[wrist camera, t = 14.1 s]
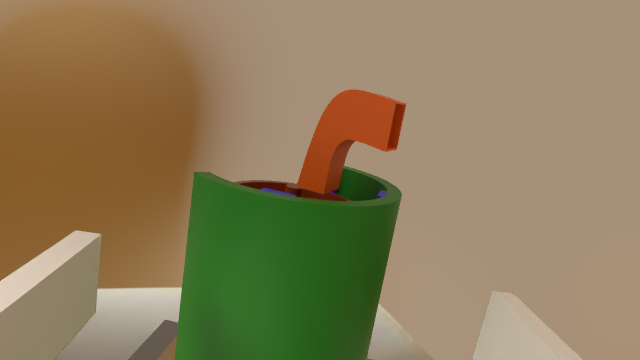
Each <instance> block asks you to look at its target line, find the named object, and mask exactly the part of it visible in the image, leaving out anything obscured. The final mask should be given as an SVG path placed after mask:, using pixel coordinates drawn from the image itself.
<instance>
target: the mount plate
mask: <svg viewBox="0 0 640 360" xmlns="http://www.w3.org/2000/svg"><path fill="white" fill-rule="evenodd" d="M177 331H178V323H176V322H172V321H168V320H165V321H164V322H163V323H162V324H161V325H160V326H159V327H158V328H157V329H156V330H155V331H154V333H153V334H152V335H151V336H150V337H149V338H148V339H147V340H146V341H145V342H144V343H143V344H142V345H141V347H140V348H139V349H138V350H137V351H136V352H135V353H134V354H133V355H132V356H131V357H130V358H129V359H128V360H175V350H176V341H177ZM366 360H372V359H368V358H366Z"/></svg>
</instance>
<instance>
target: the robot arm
mask: <svg viewBox="0 0 640 360" xmlns="http://www.w3.org/2000/svg"><path fill="white" fill-rule="evenodd" d="M100 246H101V234H97V233H90V232H83V231H75V232H73V233H72V234H70V235H69V236H67V237H66V238H64V239H63V240H61V241H60V242H58V243H57V244H55V245H54V246H52V247H51V248H49V249H48V250H46V251H45V252H43V253H42V254H40V255H39V256H37V257H36V258H34V259H33V260H31V261H30V262H28V263H27V264H25V265H24V266H22V267H21V268H19V269H18V270H16V271H15V272H13V273H12V274H10V275H9V276H7V277H6V278H4V279H3V280H2V281H0V360H55V358H56V357H57V356H58V355H59V354H60V353H61V351H62V350H63V349H64V348H65V347H66V346H67V345H68V343H69V342H70V341H71V340H72V339H73V338H74V336H75V335H76V334H77V333H78V332H79V331H80V330H81V328H82V327H83V326H84V325H85V324H86V323H87V322H88V320H89V319H90V318H91V317H92V316H93V315H94V313H95V312H96V299H97V286H98V272H99V259H100V258H99V257H100ZM472 360H583V359H582V358H581V357H580V356H578V355H577V354H576V353H575V352H574V351H573V350H572V349H571V348H570V347H569V346H568V345H567V344H566V343H565V342H564V341H563V340H562V339H561V338H560V337H558V336H557V335H556V334H555V333H554V332H553V331H552V330H551V329H550V328H549V327H548V326H546V324H545V323H544V322H542V320H541V319H539V318H538V317H537V316H536V315H535V314H534V313H533V312H532V311H531V310H530V309H529V308H528V307H527V306H526V305H525V304H524V303H522V302H521V301H520V300H519V299H518V298H517V297H516V296H515V295H514V294H513V293H506V292H499V291H492V294H491V297H490V301H489V304H488V307H487V311H486V314H485V318H484V321H483V324H482V328H481V331H480V335H479V338H478V341H477V344H476V348H475V351H474V355H473V358H472Z"/></svg>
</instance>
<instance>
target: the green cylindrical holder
mask: <svg viewBox="0 0 640 360" xmlns="http://www.w3.org/2000/svg"><path fill="white" fill-rule="evenodd" d="M405 106H406V104H405V103H402V102H400V101H397V100H394V99H391V98H388V97H385V96H382V95H379V94H374V93H370V92H365V91H361V90H347V91H343V92H341V93H339V94H338V95H337V96H336V97H334V98H333V99H332V101H331V102H330V103H329V104H328V106H327V108H326V109H325V111H324V112H323V114H322V116H321V118H320V120H319V123H318V125H317V127H316V130H315V132H314V135H313V138H312V140H311V143H310V146H309V149H308V152H307V155H306V158H305V161H304V164H303V168H302V171H301V174H300V177H299V180H298V183H297V184H294V183H287V182H279V181H263V180H260V181H259V180H252V181H239V182H230V181H228V180H225V179H222V178H220V177H218V176H216V175H214V174H212V173H210V172H195V173H194V181H193V190H192V200H191V209H190V219H189V228H188V238H187V247H186V257H185V266H184V275H183V284H182V294H181V303H180V313H179V322H178V331H177V341H176V350H175V360H366V358H367V354H368V349H369V345H370V340H371V335H372V331H373V326H374V321H375V317H376V312H377V307H378V303H379V298H380V293H381V288H382V284H383V280H384V275H385V270H386V266H387V261H388V256H389V252H390V247H391V242H392V238H393V233H394V228H395V224H396V219H397V215H398V210H399V205H400V201H401V196H402V194H401V192H400V190H399V189H398V188H397V187H396V186H394V185H392V184H391V183H389V182H388V181H386V180H383V179H381V178H379V177H377V176H374V175H371V174H369V173H366V172H363V171H359V170H356V169H353V168H349V167H345V166H344V162H345V159H346V156H347V153H348V150H349V148H350V147H351V145H352V144H353V143H354V142H355V141H359V142H362V143H365V144H368V145H370V146H372V147H375V148H377V149H380V150H382V151H386V152H387V151H392V150H396V149H397V145H398V141H399V136H400V130H401V126H402V121H403V117H404V112H405Z"/></svg>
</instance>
